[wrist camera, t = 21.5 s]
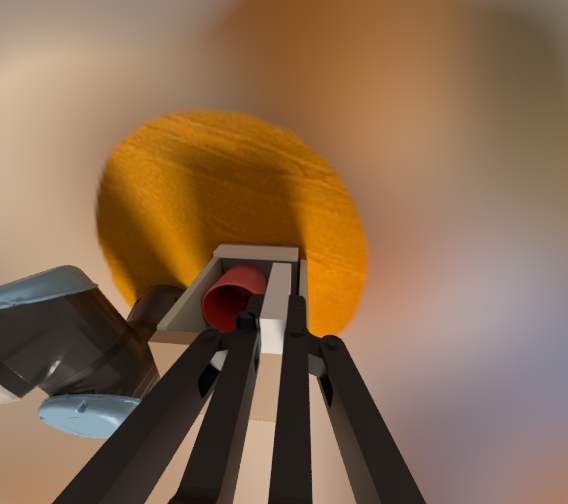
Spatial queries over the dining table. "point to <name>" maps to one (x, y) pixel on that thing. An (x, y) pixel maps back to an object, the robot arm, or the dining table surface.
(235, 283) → the flower pot
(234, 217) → the dining table surface
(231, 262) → the tray
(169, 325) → the beige open box
